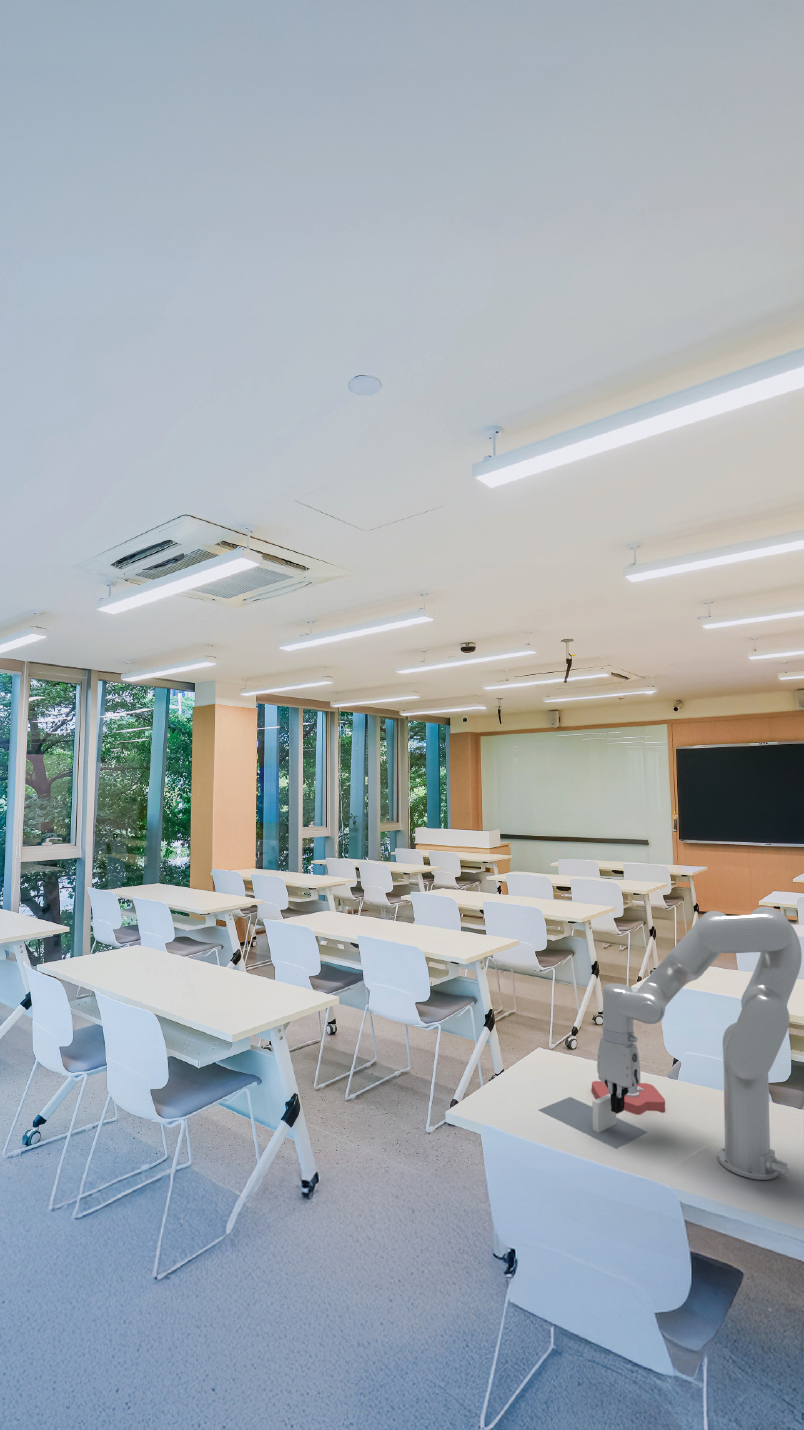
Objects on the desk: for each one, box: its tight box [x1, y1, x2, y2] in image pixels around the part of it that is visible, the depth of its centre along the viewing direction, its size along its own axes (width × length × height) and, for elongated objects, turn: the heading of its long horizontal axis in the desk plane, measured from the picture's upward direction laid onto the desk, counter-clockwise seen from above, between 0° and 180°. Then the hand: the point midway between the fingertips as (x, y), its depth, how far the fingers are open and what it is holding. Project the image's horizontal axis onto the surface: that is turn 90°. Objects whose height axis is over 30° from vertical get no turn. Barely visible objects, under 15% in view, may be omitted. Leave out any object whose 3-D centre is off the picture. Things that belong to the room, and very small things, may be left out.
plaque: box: [591, 1080, 666, 1116], centre depth 188 cm, size 18×4×15 cm
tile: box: [592, 1094, 617, 1132], centre depth 173 cm, size 2×8×7 cm, turn 129°
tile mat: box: [538, 1096, 648, 1150], centre depth 176 cm, size 24×14×1 cm, turn 39°
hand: (617, 1111), depth 170 cm, fingers closed
